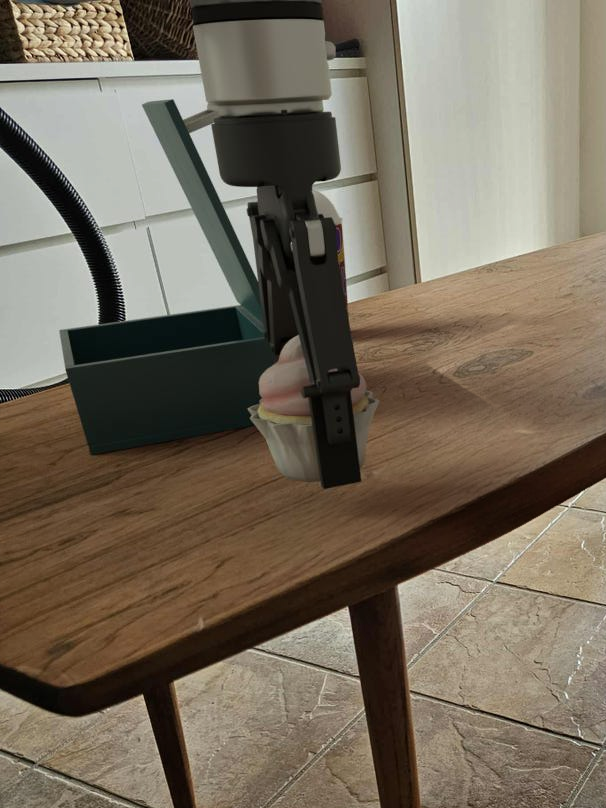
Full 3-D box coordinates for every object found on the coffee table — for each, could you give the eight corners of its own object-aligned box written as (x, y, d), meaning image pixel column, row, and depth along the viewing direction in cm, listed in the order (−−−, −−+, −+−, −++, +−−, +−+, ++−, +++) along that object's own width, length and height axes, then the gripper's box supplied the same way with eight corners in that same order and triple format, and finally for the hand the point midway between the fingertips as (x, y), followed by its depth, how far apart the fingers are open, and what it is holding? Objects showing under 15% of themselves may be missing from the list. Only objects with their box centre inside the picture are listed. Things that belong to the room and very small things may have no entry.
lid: (164, 102, 71) (241, 70, 72) (141, 104, 85) (206, 77, 86) (272, 333, 83) (337, 302, 84) (237, 301, 97) (293, 275, 98)
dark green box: (90, 455, 81) (65, 368, 77) (81, 405, 95) (58, 329, 91) (291, 418, 87) (277, 336, 83) (254, 376, 101) (241, 304, 97)
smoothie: (369, 333, 116) (349, 158, 106) (328, 348, 110) (301, 165, 100) (320, 328, 120) (296, 159, 110) (278, 343, 114) (247, 166, 104)
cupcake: (339, 500, 61) (319, 351, 56) (233, 482, 65) (205, 341, 60) (409, 454, 68) (397, 318, 63) (309, 440, 72) (290, 311, 67)
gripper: (388, 106, 47) (421, 503, 59) (290, 105, 64) (331, 412, 76) (246, 115, 45) (310, 526, 57) (183, 111, 62) (243, 427, 74)
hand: (322, 461), depth 66 cm, fingers closed on cupcake, 9 cm apart
